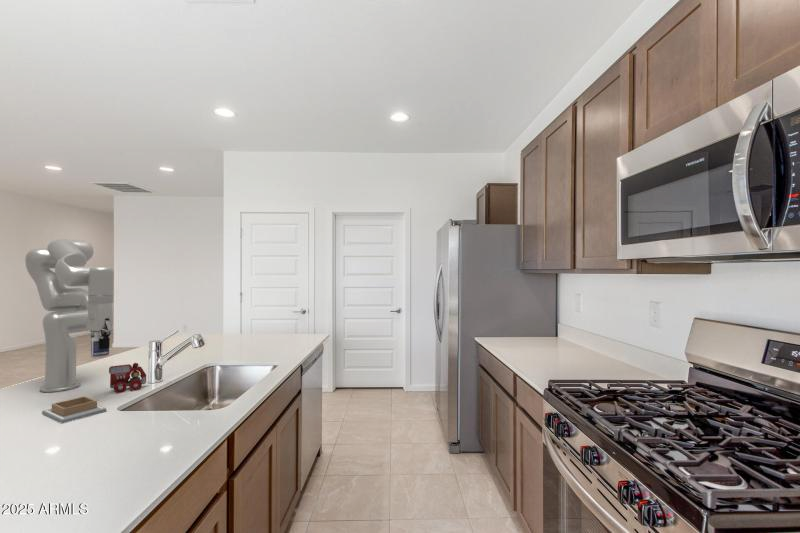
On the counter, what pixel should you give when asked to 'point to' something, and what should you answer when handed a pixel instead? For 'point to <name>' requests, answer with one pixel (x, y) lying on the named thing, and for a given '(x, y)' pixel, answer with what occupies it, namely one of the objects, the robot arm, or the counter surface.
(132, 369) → the toy fire truck
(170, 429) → the counter surface
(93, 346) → the pill bottle
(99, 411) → the bay
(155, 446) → the counter surface
